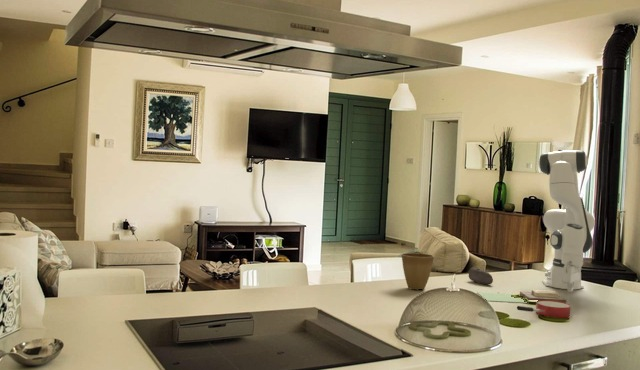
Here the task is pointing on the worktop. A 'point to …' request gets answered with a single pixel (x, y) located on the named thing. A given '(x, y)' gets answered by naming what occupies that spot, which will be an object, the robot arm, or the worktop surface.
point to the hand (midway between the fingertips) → (570, 291)
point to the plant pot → (417, 269)
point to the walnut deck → (532, 297)
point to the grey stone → (480, 276)
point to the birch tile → (545, 293)
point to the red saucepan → (549, 309)
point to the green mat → (500, 297)
